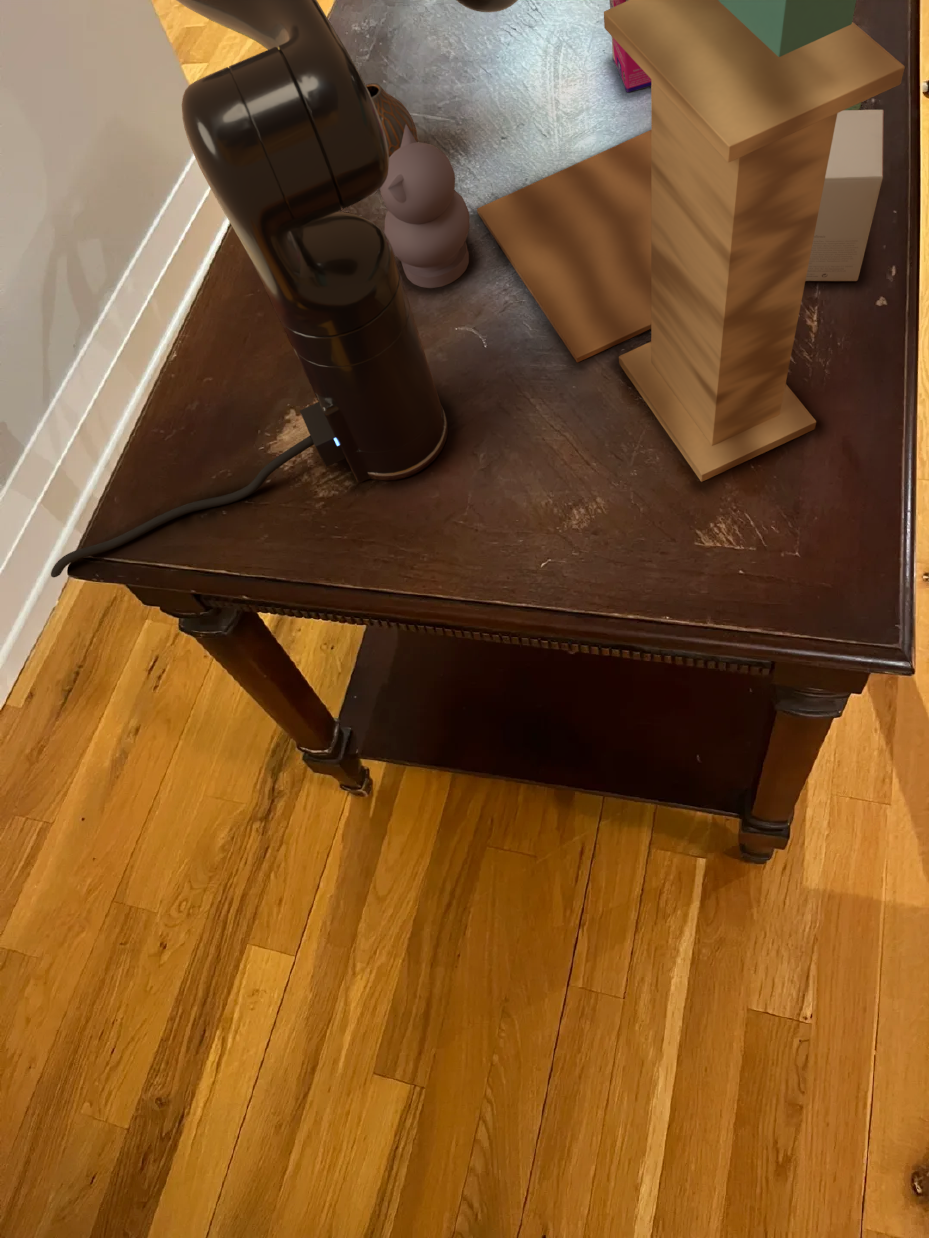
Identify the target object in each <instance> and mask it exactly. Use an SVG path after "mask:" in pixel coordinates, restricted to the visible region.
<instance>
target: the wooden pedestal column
mask: <svg viewBox="0 0 929 1238" xmlns="http://www.w3.org/2000/svg"><path fill="white" fill-rule="evenodd" d="M603 27H604V30H605V31H606V32H607V33H608V34H609V35H610V36H612V37H613V38H614V39H615V40H616V41H617V42H618V44H619V45H620V46H621V47H622V48H623V49H624V50H625V51H626V52H627V53H628V54H629V55H630V57H631V58H632V59H633V60H634V61H635V62H636V63H637V64H638V65H639V66H640V67H641V69H642V70H643V71H644V72H645V73H646V74H647V75H648V76H649V77H650V78H651V86H650V87H651V89H650V93H651V96H650V99H651V101H650V102H651V109H650V110H651V112H650V113H651V115H650V117H651V124H650V125H651V127H650V130H651V329H650V330H651V332H650V333H651V337H650V338H651V339H650V340H651V341H648V342H647V343H645V344H643V345H640V346H638V347H636V348H634V349H632V350H629V351H627V352H625V353H623V354H620V355H619V356H618V365H619V366H620V368H621V369H622V370H623V372H624V373H625V374H626V376H627V378H628V379H629V380H630V382H631V383H632V385H633V386H634V388H635V390H636V391H638V393H639V395H640V396H641V397H642V399H643V400H644V402H645V403H646V405H647V406H648V407H649V409H650V410H651V412H652V413H653V415H654V416H655V418H656V419H657V421H658V422H659V424H660V425H661V427H662V428H663V430H664V431H665V432H666V434H667V435H668V436H669V438H670V439H671V440H672V442H673V443H674V445H675V446H676V448H677V450H678V451H679V452H680V454H681V455H682V457H683V458H684V460H685V461H686V462H687V464H688V465H689V466H690V468H691V470H692V471H693V472H694V474H695V475H696V477H697V478H698V479H699V481H700V482H701V483H702V482H704V481H706V480H709V479H711V478H713V477H715V476H717V475H720V474H722V473H724V472H726V471H728V470H730V469H733V468H734V467H737V466H739V465H741V464H743V463H745V462H747V461H750V460H752V459H754V458H756V457H758V456H760V455H763V454H765V453H766V452H769V451H771V450H773V449H775V448H777V447H780V446H782V445H784V444H786V443H788V442H791V441H792V440H795V439H798V438H799V437H801V436H803V435H806V434H807V433H810V432H812V431H814V430H816V425H817V420H816V419H815V418H814V417H813V416H812V414H811V413H810V412H809V411H808V409H807V408H806V407H805V405H804V404H803V403H802V402H801V400H800V399H799V397H797V395H796V394H795V393H794V392H793V391H792V389H791V388H790V387H789V386H788V385H787V378H788V373H789V368H790V363H791V358H792V352H793V348H794V342H795V336H796V331H797V327H798V322H799V316H800V311H801V306H802V302H803V301H802V300H803V296H804V290H805V286H806V285H805V284H806V281H805V280H806V275H807V270H808V265H809V259H810V254H811V249H812V244H813V239H814V233H815V228H816V223H817V218H818V212H819V207H820V202H821V197H822V192H823V186H824V181H825V176H826V171H827V166H828V160H829V155H830V150H831V145H832V140H833V134H834V129H835V124H836V119H837V113H839V112H841V111H843V110H845V109H847V108H850V107H852V106H854V105H856V104H858V103H861V102H862V103H863V102H864V101H868V100H870V99H872V98H874V97H876V96H878V95H880V94H882V93H885V92H887V91H889V90H891V89H893V88H895V87H898V86H900V85H901V83H902V80H903V76H904V72H905V65H904V64H903V63H901V61H900V60H898V59H897V58H896V57H894V56H893V55H892V54H891V53H890V52H888V51H887V50H886V49H885V47H883V46H881V45H880V44H879V43H878V42H877V41H876V40H874V39H873V38H872V37H871V36H870V35H868V34H867V32H865V31H864V30H863V29H862V28H861V27H859V26H858V25H856V23H854V22H853V21H852V24H851V25H849V26H847V27H844V28H842V29H840V30H838V31H836V32H833V33H831V34H829V35H827V36H825V37H822V38H820V39H818V40H816V41H814V42H811V43H809V44H807V45H805V46H803V47H800V48H798V49H796V50H794V51H792V52H789V53H787V54H785V55H783V56H781V57H778V56H777V55H776V54H775V53H774V52H773V51H772V50H771V49H769V48H768V47H767V46H766V45H765V44H764V43H763V42H762V41H761V40H760V39H759V38H758V37H757V36H756V35H755V34H753V33H752V32H751V31H750V30H749V29H748V28H747V27H746V26H745V25H744V24H743V23H742V22H741V21H740V20H739V19H737V18H736V17H735V16H734V15H733V14H732V13H731V12H730V11H729V10H728V9H727V8H726V7H725V6H724V5H723V4H722V3H720V2H719V1H718V0H629V1H626V2H624V3H622V4H620V5H617V6H615V7H613V8H611V9H610V8H608V9H606V10H604V11H603ZM612 37H611V38H612ZM862 103H861V104H862Z"/></svg>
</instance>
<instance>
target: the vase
mask: <svg viewBox="0 0 929 1238" xmlns="http://www.w3.org/2000/svg"><path fill="white" fill-rule="evenodd" d="M365 85H366V87H367V89H368V91H369V93H370V95H371V97H372V100H373V102H374V104H375V107H376V109H377V112H378V114H379V117H380V120H381V123H382V126H383V129H384V132H385V136H386V140H387V145H388V151H389V157H390V156H391V155H392V154H393V153H394V152H395V151H396V150H398V149H399V148H400V147H401V143H402V139H403V134H404V130H405V125H406V124H407V126H408V128H409V130H410V131H411V133H412V135H413V137H414V138H415V140H416V142H418V143H419V136H418V131H417V127H416V123H415V121H414V119H413V117H412V115H411V113H410V112H409V110H408V109H407V107H406V106H405V105H404V104H403V103H402V102H401V101H400V100H398V99H397V98H396V97H394V96H393V95H391V94H389V93H388V92H387V91H386V90H385V89H384V88H383V87H382V86H381V85H380V84H379V83H375V82H370V83H367V84H366V83H365Z"/></svg>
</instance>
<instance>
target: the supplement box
mask: <svg viewBox="0 0 929 1238" xmlns="http://www.w3.org/2000/svg"><path fill="white" fill-rule="evenodd" d="M608 1H609V9H611V8H613V7H615V6H617V5H620V4H622V3H624V2H626V1H629V0H608ZM610 36H611V35H610ZM611 52H612V53H611V54H612V62H613V63H614V65H615V68H616V69H617V71H618V74H619V76H620V78H621V81H622V83H623V86H624V89H625V92H626V93H631V92H632V93H633V92H635V91H639V90H641V89H642V90H643V89H645V88H648V87H651V78H650V77H649V76H648V75H647V74H646V73H645V72H644V71H643V70H642V69H641V67H640V66H639V65H638V64H637V63H636V62H635V61H634V60H633V59H632V58H631V57H630V55H629V54H628V53H627V52H626V51H625V50H624V49H623V48H622V47H621V46H620V45H619V44H618V42H617V41H616V40H615V39H614V38H613V37H612V36H611Z"/></svg>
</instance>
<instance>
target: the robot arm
mask: <svg viewBox="0 0 929 1238" xmlns="http://www.w3.org/2000/svg"><path fill="white" fill-rule="evenodd" d="M175 1H176V2H178V3H179V4H181V5H182V6H184V7H185V8H187V9H189V10H191V11H192V12H193V13H196V14H197V15H200V16H202V17H203V18H205V19H206V20H209V21H211V22H213V23H216V24H217V25H220V26H222V27H225V28H226V29H228V30H231V31H233V32H235V33H238V34H240V35H242V36H244V37H247V38H248V39H251V40H252V41H254V42H256V43H258V44H259V45H261V46H262V47H263V48H265V49H266V50H265V51H261V52H260V53H257V54H254V55H253V56H250V57H248V58H245V59H243V60H241V61H237V62H236V63H233V64H231V65H229V66H226V67H223V68H221V69H219V70H217V71H214V72H212V73H210V74H208V75H205V76H203V77H201V78H199V79H197V80H195V81H193V82H192V83H190V84H189V85H188V86H187V87H186V89H185V90H184V92H183V95H182V100H181V116H182V117H181V118H182V123H183V127H184V131H185V134H186V137H187V141H188V144H189V147H190V149H191V151H192V153H193V156H194V158H195V160H196V162H197V165H198V167H199V169H200V171H201V174H202V175H203V178H204V179H205V181H206V183H207V184H208V186H209V188H210V191H211V192H212V194H213V196H214V198H215V199H216V201H217V203H218V204H219V206H220V208H221V210H222V211H223V213H224V215H225V217H226V219H227V220H228V222H229V224H230V225H231V227H232V229H233V231H234V232H235V234H236V235H237V237H238V239H239V241H240V243H241V245H242V247H243V248H244V251H245V252H246V255H247V256H248V257H249V259H250V261H251V263H252V266H253V267H254V270H255V271H256V274H257V275H258V277H259V279H260V282H261V283H262V286H263V288H264V290H265V292H266V295H267V297H268V299H269V303H270V304H271V306H272V308H273V310H274V312H275V314H276V316H277V318H278V320H279V322H280V324H281V326H282V328H283V330H284V333H285V334H286V336H287V338H288V340H289V342H290V345H291V346H292V349H293V351H294V353H295V355H296V357H297V359H298V361H299V364H300V365H301V368H302V370H303V372H304V375H306V378H307V380H308V382H309V384H310V387H311V388H312V391H313V393H314V395H315V397H316V399H317V402H315V403H313V404H311V405H309V406H306V407H304V408H302V409H300V410H299V413H300V416H301V417H302V419H303V421H304V424H305V427H306V429H307V431H308V433H309V435H308V436H307V437H305V438H304V439H302V440H301V441H299V442H297V443H296V444H294V445H292V446H291V447H289V448H288V449H287V450H285V451H284V452H281V454H279V455H277V456H276V457H275V458H274V459H272V460H271V461H270V462H269V463H268V464H266V465H265V466H263V468H262V469H261V470H260V471H259V472H258V473H257V475H256V476H255V478H254V479H252V481H251V482H250V483H249V484H248V485H246V486H245V487H242V488H241V489H238V490H237V491H236V490H235V491H234V492H231V493H228V494H224V495H219V496H214V497H209V498H205V499H201V500H195V501H192V502H189V503H185V504H183V505H180V506H177V507H175V508H173V509H170V510H167V511H165V512H163V513H161V514H159V515H157V516H155V517H153V518H151V519H149V520H148V521H146V522H144V523H142V524H139V525H138V526H136V527H134V528H132V529H131V530H128V531H126V532H124V533H122V534H120V535H118V536H116V537H114V538H112V539H109V540H106V541H102V542H100V543H97V544H94V545H89V546H85V547H82V548H79V549H76V550H73V551H71V552H69V553H66V554H64V555H63V556H62V557H61V558H59V559H58V560H57V561H56V562H55V563H54V565H53V566H52V569H51V572H50V577H52V578H58V577H59V576H61V574H62V573H63V572H64V569H65V568H66V567H67V566H68V565H70V564H72V563H73V562H74V563H75V562H76V561H78V560H80V559H84V558H87V557H91V556H94V555H98V554H99V555H100V554H101V553H106V552H108V551H111V550H114V549H116V548H118V547H119V548H120V547H121V546H123V545H125V544H127V543H130V542H131V541H133V540H135V539H137V538H139V537H141V536H143V535H145V534H146V533H148V532H151V531H152V530H154V529H156V528H158V527H161V526H162V525H164V524H166V523H168V522H170V521H172V520H175V519H177V518H179V517H182V516H184V515H187V514H188V515H189V514H192V513H194V512H198V511H201V510H206V509H211V508H215V507H216V508H217V507H221V506H225V505H229V504H232V503H236V502H238V501H240V500H243V499H246V498H248V497H249V496H251V495H252V494H254V493H255V492H257V491H258V489H259V488H261V487H262V485H263V484H264V482H265V481H266V480H267V479H268V478H269V476H270V475H271V474H272V473H273V472H275V471H276V470H277V469H279V468H280V467H281V466H283V465H284V464H286V463H287V462H289V461H290V460H292V459H294V458H295V457H297V456H298V455H299V454H301V453H303V452H304V451H306V450H307V449H309V448H310V447H312V446H313V445H314V447H315V449H316V451H317V453H318V454H319V456H320V458H321V460H322V462H323V464H324V466H325V467H326V468H328V467H330V466H332V465H334V464H336V463H339V462H341V461H343V460H346V462H347V464H348V466H349V468H350V470H351V472H352V474H353V475H354V476H353V477H354V478H355V481H356V482H357V483H363V482H365V481H367V480H370V479H372V480H375V481H396V480H401V479H406V478H408V477H411V476H414V475H416V474H417V473H420V472H421V471H423V470H424V469H426V468H428V466H429V465H431V464H432V463H433V462H434V461H435V460H436V459H437V458H438V456H439V455H440V453H441V452H442V450H443V448H444V446H445V445H446V442H447V438H448V433H449V432H448V431H449V427H448V426H449V425H448V419H447V417H446V412H445V410H444V408H443V405H442V403H441V400H440V397H439V395H438V391H437V388H436V385H435V382H434V378H433V376H432V372H431V369H430V366H429V362H428V359H427V356H426V352H425V350H424V349H425V348H424V347H423V346H424V345H423V343H422V339H421V337H420V333H419V329H418V326H417V324H416V320H415V317H414V314H413V310H412V308H411V304H410V301H409V298H408V295H407V292H406V288H405V285H404V281H403V278H402V275H401V272H400V268H399V265H398V262H397V258H396V255H395V254H394V252H393V249H392V247H391V244H390V242H389V240H388V238H387V236H386V235H385V233H384V231H383V230H382V229H381V227H380V226H379V225H377V224H376V223H375V222H373V221H372V220H371V219H369V218H367V217H364V216H362V215H359V214H356V213H352V212H346V211H341V210H342V209H343V210H344V209H346V208H349V207H351V206H353V205H356V204H357V203H360V202H361V201H363V200H365V199H366V198H368V197H370V196H372V195H374V193H376V192H378V191H380V188H381V187H382V185H383V184H384V182H385V180H386V178H387V175H388V171H389V151H388V145H387V140H386V136H385V132H384V129H383V126H382V123H381V120H380V117H379V114H378V112H377V109H376V107H375V104H374V102H373V100H372V97H371V95H370V93H369V91H368V89H367V87H366V82H365V81H364V79H363V77H362V75H361V73H360V72H359V70H358V68H357V66H356V64H355V63H354V61H353V59H352V58H351V56H350V54H349V51H348V50H347V49H346V46H345V45H344V43H343V41H342V40H341V38H340V37H339V35H338V33H337V31H336V30H335V29H334V26H333V25H332V24H331V22H330V20H329V18H328V17H327V14H325V11H324V10H323V8H322V6H321V5H320V3H319V2H318V0H175ZM455 1H456V2H457V3H459V4H460V5H462V6H463V7H465V8H467V9H469V10H471V11H474V12H480V13H497V12H501V11H504V10H506V9H509V8H510V7H512V6H513V5H514V4H516V3H517V2H518V1H519V0H455Z"/></svg>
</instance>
